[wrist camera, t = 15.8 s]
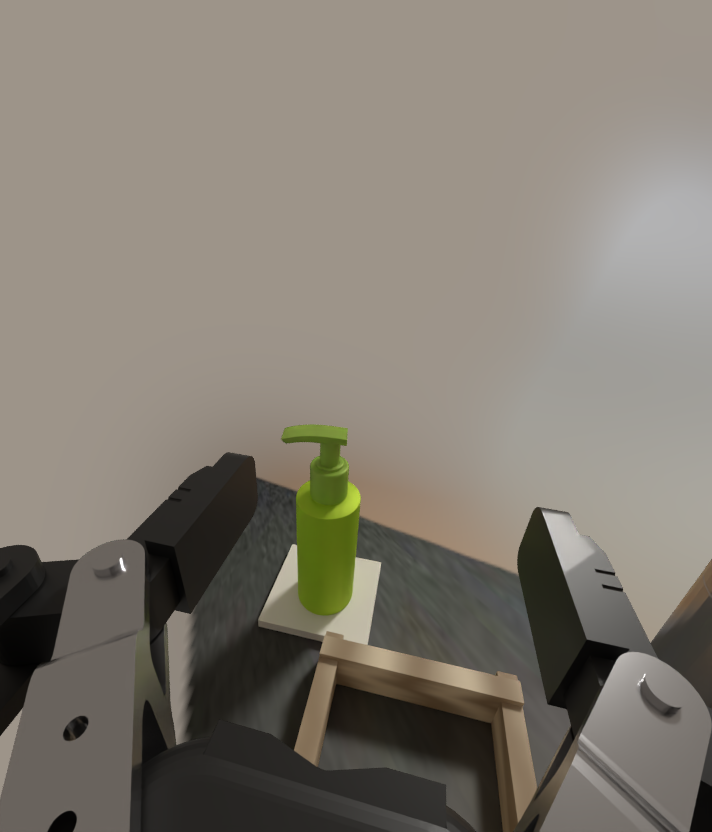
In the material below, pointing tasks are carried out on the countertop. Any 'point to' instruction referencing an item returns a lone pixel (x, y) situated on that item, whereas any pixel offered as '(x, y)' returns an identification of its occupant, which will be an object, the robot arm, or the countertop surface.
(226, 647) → the countertop surface
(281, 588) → the cream tile
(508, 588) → the countertop surface
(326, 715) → the pine rack
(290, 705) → the countertop surface
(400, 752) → the countertop surface
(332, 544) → the soap dispenser
